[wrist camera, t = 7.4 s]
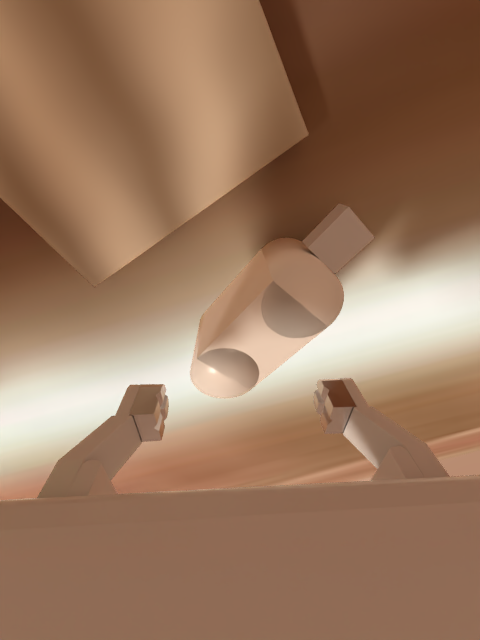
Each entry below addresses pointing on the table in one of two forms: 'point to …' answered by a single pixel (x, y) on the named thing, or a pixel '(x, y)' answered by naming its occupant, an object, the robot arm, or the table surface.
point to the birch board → (134, 117)
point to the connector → (275, 306)
